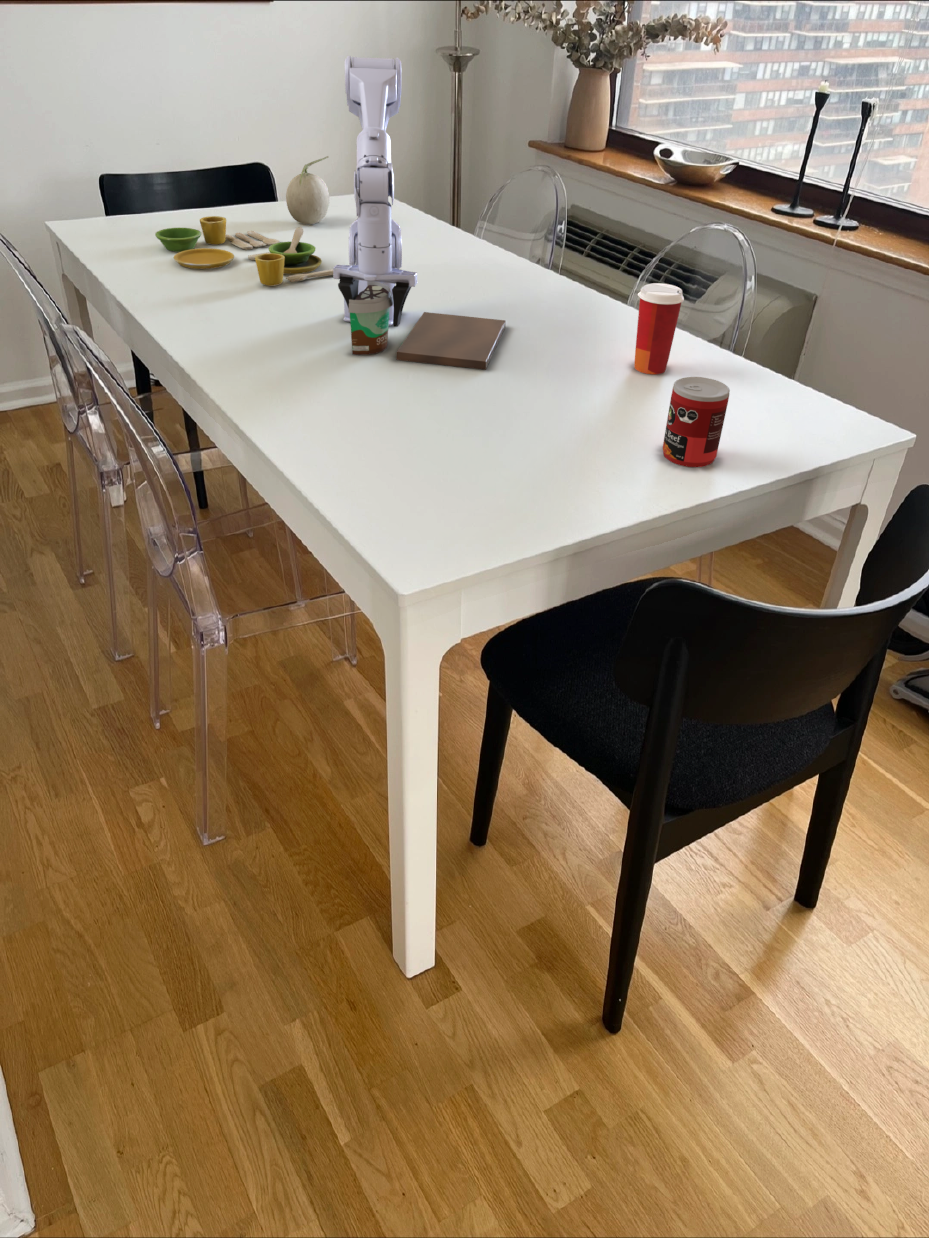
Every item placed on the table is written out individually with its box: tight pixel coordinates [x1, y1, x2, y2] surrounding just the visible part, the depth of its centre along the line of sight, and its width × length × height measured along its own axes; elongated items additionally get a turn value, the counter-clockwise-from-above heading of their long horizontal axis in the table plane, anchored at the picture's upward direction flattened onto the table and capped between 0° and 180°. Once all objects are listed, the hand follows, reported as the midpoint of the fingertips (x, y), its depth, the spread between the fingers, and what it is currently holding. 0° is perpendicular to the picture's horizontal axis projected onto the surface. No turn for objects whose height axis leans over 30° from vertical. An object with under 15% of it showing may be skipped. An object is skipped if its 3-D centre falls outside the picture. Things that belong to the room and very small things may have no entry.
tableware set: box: [154, 215, 333, 287], centre depth 214 cm, size 41×28×6 cm
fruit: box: [285, 155, 330, 225], centre depth 239 cm, size 10×12×15 cm
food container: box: [349, 281, 393, 356], centre depth 174 cm, size 12×6×10 cm, turn 168°
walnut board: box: [395, 311, 507, 371], centre depth 180 cm, size 16×22×2 cm
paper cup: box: [633, 282, 685, 375], centre depth 170 cm, size 8×8×14 cm
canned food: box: [662, 376, 731, 468], centre depth 143 cm, size 8×8×11 cm
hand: (375, 322), depth 174 cm, fingers open, 7 cm apart
